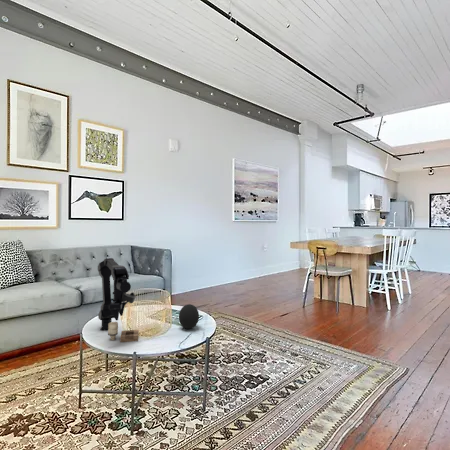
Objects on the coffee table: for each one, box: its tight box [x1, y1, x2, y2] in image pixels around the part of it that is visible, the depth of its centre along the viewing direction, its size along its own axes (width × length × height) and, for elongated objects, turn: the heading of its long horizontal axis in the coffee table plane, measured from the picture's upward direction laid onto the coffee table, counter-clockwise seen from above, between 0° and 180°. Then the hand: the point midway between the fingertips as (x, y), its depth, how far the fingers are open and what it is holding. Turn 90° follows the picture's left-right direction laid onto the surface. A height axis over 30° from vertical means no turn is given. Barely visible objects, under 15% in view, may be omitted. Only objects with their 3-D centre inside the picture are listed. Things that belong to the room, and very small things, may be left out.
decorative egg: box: [178, 303, 200, 330], centre depth 200 cm, size 12×12×15 cm
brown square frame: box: [119, 329, 140, 343], centre depth 182 cm, size 9×9×3 cm
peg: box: [107, 321, 119, 341], centre depth 181 cm, size 5×5×9 cm
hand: (119, 317), depth 179 cm, fingers open, 9 cm apart
